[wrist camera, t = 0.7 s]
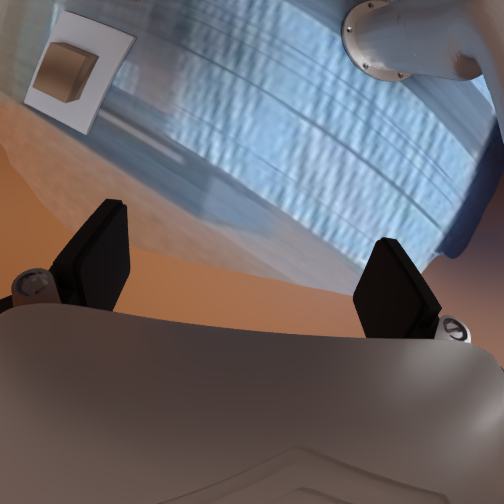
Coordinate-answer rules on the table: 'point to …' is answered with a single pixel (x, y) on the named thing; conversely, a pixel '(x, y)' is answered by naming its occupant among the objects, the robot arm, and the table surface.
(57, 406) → the robot arm
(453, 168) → the table surface
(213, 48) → the table surface
